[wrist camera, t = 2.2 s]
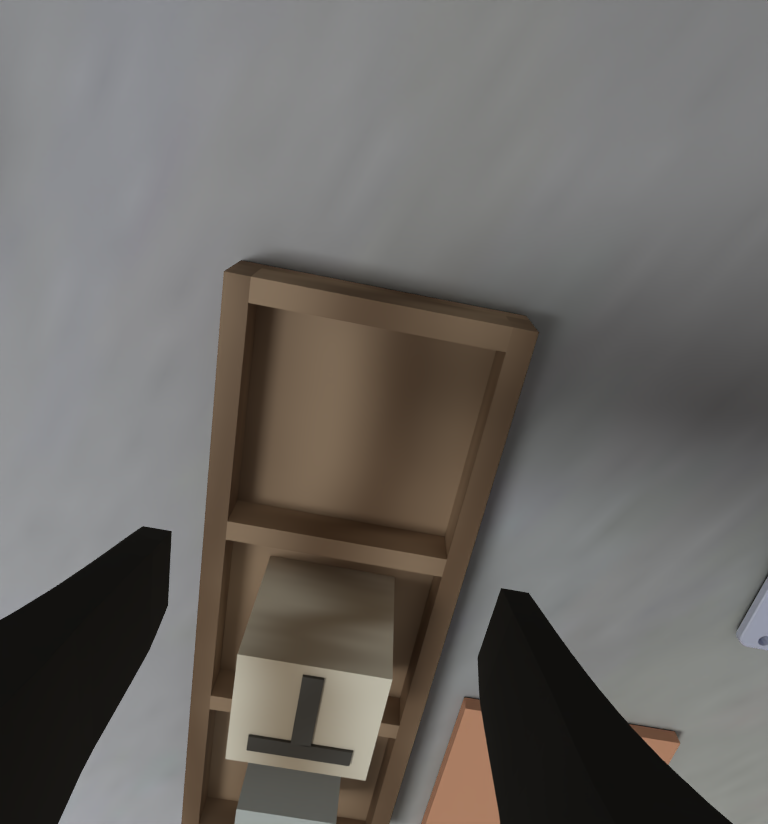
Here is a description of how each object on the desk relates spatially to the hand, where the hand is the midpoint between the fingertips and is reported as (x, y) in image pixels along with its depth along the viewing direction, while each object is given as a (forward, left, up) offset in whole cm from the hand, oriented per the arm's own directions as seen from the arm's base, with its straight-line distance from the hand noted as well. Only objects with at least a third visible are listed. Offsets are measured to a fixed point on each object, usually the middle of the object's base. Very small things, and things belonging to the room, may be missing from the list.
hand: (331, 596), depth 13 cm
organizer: (0, +9, -9) cm, 13 cm away
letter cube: (0, +9, -9) cm, 12 cm away
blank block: (0, +18, -9) cm, 20 cm away
